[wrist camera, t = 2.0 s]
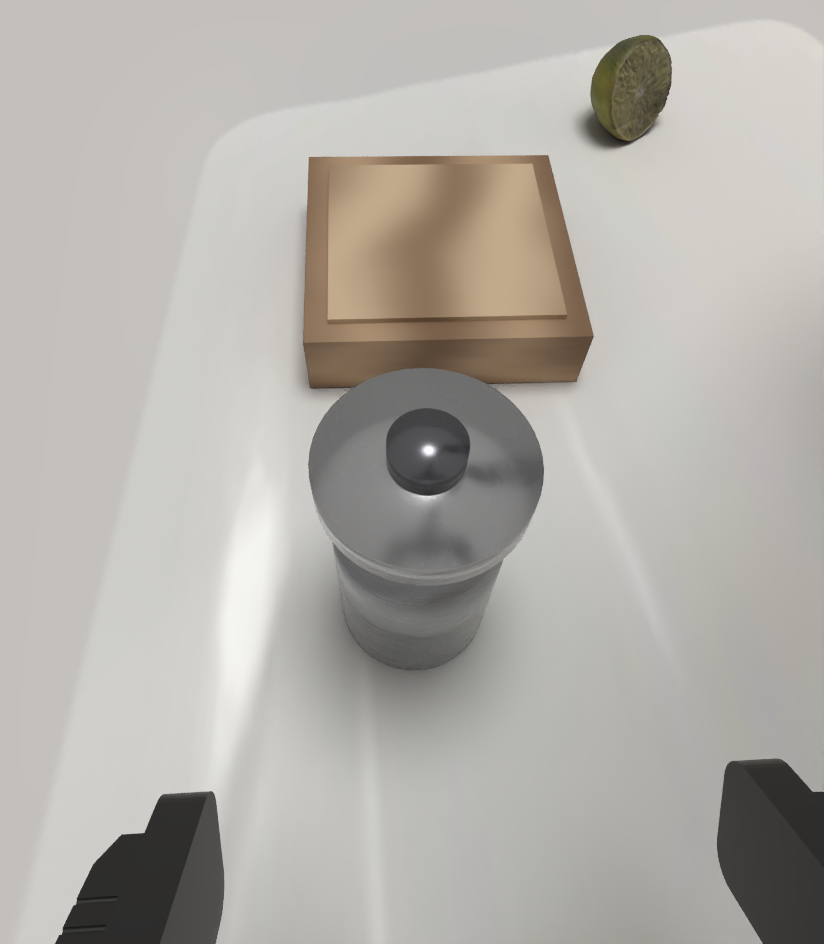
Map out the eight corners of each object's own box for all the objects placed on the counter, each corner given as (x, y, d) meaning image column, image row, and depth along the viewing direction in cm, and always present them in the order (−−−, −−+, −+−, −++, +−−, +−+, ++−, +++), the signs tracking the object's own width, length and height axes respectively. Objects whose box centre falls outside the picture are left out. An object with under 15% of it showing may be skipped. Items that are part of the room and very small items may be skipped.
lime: (660, 113, 42) (692, 26, 37) (649, 159, 39) (681, 72, 35) (589, 97, 42) (612, 10, 38) (573, 142, 40) (596, 54, 36)
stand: (536, 205, 37) (549, 150, 34) (576, 381, 31) (595, 332, 28) (314, 207, 36) (308, 152, 34) (310, 387, 30) (302, 338, 27)
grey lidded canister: (481, 526, 27) (531, 345, 18) (499, 674, 24) (569, 550, 15) (335, 532, 27) (307, 350, 17) (335, 682, 24) (302, 561, 15)
